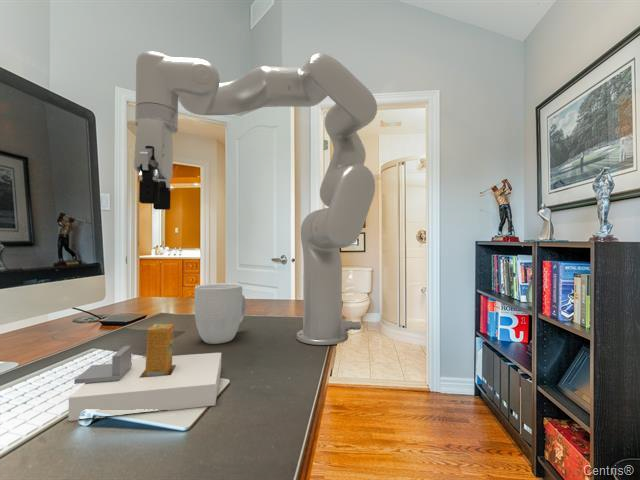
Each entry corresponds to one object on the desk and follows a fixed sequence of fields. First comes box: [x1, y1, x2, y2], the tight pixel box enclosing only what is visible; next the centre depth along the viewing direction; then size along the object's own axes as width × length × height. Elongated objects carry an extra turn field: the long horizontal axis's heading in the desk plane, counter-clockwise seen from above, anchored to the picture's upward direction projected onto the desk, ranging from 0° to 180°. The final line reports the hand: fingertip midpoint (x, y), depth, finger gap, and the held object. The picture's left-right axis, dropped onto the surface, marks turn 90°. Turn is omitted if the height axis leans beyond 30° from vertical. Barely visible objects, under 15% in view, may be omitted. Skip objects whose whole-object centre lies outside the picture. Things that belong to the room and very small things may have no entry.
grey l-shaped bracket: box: [73, 345, 132, 385], centre depth 49 cm, size 6×6×3 cm
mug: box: [193, 282, 247, 345], centre depth 79 cm, size 15×11×13 cm
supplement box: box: [145, 323, 175, 377], centre depth 51 cm, size 3×3×10 cm
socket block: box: [67, 352, 222, 422], centre depth 50 cm, size 18×14×3 cm
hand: (156, 206), depth 64 cm, fingers open, 9 cm apart
